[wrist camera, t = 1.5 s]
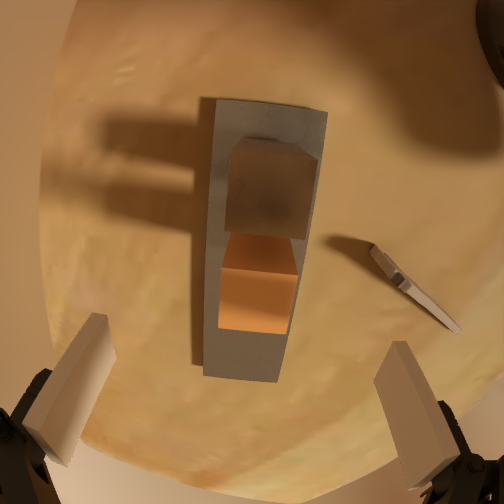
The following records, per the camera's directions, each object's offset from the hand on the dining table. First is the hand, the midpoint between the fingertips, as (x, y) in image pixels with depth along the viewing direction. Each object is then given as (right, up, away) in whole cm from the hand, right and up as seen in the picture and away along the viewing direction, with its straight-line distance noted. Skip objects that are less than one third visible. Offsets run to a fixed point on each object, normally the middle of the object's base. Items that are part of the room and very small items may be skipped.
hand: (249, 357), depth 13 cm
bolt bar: (0, +3, +17) cm, 17 cm away
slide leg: (+1, +6, +13) cm, 15 cm away
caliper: (+20, 0, +18) cm, 27 cm away
